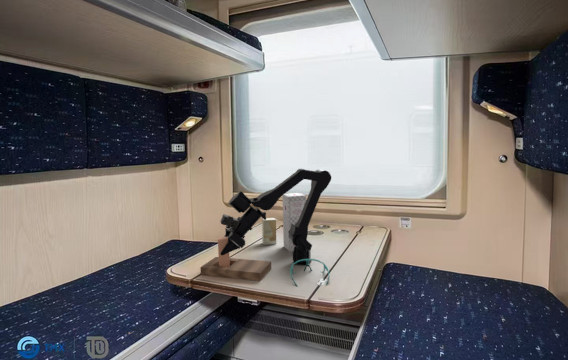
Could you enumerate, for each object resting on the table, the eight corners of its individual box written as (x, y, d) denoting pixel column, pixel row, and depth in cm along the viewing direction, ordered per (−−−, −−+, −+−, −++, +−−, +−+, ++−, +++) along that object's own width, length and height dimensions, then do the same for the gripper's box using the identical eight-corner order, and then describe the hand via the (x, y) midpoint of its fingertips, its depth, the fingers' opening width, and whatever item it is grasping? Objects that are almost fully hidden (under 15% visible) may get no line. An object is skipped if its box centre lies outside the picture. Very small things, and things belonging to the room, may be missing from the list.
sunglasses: (325, 269, 133) (325, 257, 132) (332, 290, 119) (332, 276, 117) (289, 271, 133) (289, 259, 132) (291, 291, 118) (291, 278, 117)
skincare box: (264, 245, 166) (263, 220, 164) (262, 242, 170) (261, 218, 168) (277, 244, 167) (276, 219, 166) (274, 241, 171) (274, 217, 170)
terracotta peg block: (229, 268, 136) (228, 236, 135) (229, 272, 132) (228, 239, 131) (219, 269, 135) (218, 237, 134) (219, 273, 132) (217, 239, 130)
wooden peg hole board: (271, 268, 135) (271, 261, 134) (260, 281, 123) (260, 272, 123) (216, 263, 142) (215, 256, 141) (200, 274, 130) (200, 267, 130)
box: (289, 251, 155) (288, 196, 152) (283, 246, 163) (282, 194, 160) (307, 249, 158) (306, 195, 155) (300, 244, 166) (299, 192, 163)
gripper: (230, 203, 141) (204, 231, 140) (234, 211, 123) (204, 244, 122) (250, 220, 144) (224, 248, 142) (257, 231, 126) (228, 264, 124)
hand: (220, 250), depth 133 cm, fingers open, 9 cm apart
